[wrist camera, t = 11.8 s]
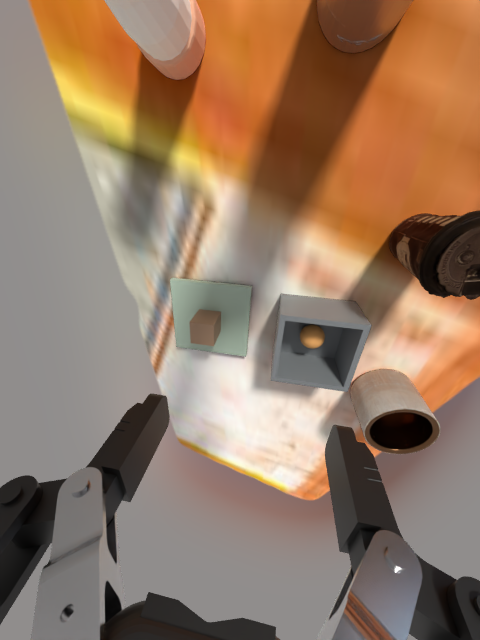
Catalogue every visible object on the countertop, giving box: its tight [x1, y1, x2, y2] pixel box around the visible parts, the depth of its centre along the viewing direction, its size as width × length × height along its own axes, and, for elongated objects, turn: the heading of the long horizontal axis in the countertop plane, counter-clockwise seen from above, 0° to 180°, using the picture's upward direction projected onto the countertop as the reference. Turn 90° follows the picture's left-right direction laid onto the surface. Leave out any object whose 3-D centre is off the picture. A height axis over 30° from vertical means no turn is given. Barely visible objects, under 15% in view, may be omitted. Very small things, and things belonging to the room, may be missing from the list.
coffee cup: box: [389, 211, 480, 300], centre depth 27 cm, size 9×8×13 cm
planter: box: [350, 369, 440, 454], centre depth 41 cm, size 11×11×10 cm
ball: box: [300, 325, 325, 349], centre depth 40 cm, size 4×4×4 cm
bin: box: [271, 294, 372, 392], centre depth 38 cm, size 12×12×8 cm
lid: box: [170, 278, 252, 357], centre depth 41 cm, size 14×14×7 cm
